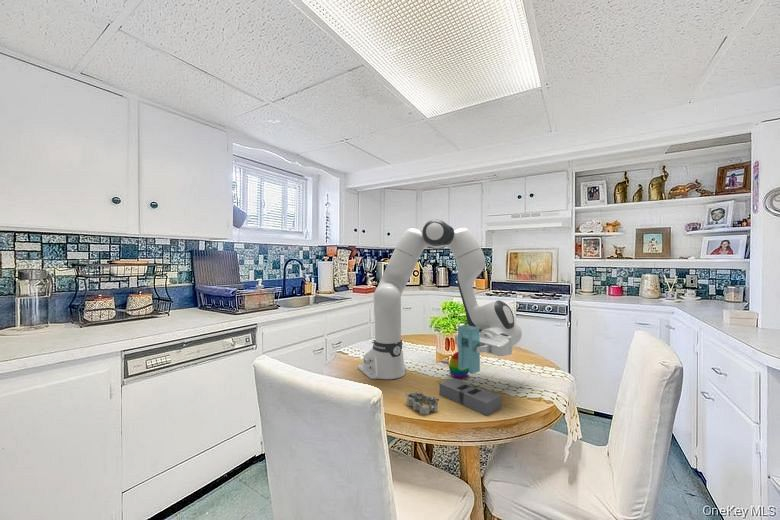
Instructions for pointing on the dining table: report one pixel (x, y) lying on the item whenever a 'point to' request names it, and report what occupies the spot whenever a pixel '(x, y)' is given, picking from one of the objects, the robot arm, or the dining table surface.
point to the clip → (468, 348)
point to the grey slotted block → (470, 396)
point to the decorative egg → (454, 367)
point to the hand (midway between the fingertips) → (467, 347)
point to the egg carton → (419, 402)
